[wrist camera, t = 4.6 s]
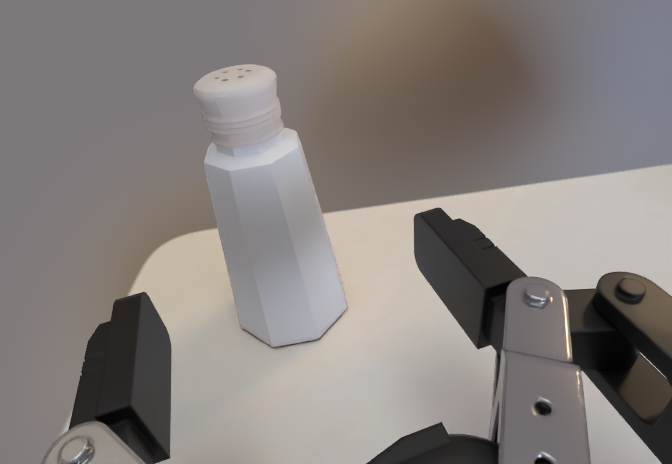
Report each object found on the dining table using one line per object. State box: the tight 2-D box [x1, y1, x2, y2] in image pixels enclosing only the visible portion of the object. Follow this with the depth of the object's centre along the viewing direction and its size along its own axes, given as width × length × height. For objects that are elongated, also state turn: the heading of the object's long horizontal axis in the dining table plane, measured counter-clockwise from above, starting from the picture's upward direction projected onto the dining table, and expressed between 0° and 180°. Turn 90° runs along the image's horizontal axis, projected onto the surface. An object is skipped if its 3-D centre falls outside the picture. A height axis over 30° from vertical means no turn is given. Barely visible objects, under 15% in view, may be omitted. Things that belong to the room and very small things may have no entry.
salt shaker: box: [193, 65, 347, 347], centre depth 17 cm, size 5×5×11 cm
